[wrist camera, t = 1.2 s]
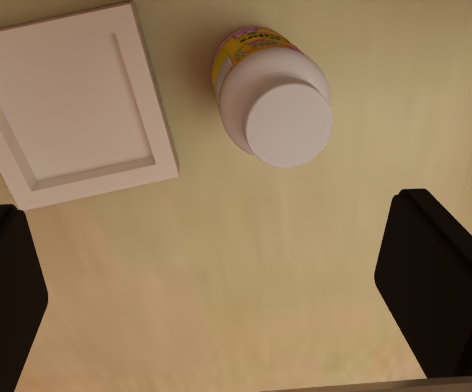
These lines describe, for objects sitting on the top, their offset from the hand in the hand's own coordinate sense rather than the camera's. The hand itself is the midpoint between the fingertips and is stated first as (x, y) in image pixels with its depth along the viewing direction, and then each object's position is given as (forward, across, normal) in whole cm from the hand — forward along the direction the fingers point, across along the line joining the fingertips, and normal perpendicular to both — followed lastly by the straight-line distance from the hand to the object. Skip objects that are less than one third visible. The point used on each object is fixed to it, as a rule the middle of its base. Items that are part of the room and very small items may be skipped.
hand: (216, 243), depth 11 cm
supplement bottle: (+24, -4, +2) cm, 25 cm away
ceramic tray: (+24, +10, +4) cm, 26 cm away
